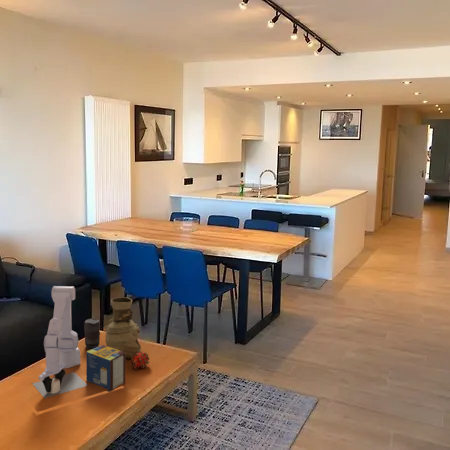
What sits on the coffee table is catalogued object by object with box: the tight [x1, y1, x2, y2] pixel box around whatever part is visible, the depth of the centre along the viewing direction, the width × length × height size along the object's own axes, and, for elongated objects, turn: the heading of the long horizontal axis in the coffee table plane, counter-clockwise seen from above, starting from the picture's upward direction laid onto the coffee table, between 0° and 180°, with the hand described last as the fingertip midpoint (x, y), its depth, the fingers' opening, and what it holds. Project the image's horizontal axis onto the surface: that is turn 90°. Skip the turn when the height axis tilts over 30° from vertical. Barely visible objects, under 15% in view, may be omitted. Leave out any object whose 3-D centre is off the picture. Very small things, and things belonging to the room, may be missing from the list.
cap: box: [48, 379, 60, 394], centre depth 220 cm, size 5×5×5 cm
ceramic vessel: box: [105, 296, 142, 360], centre depth 262 cm, size 19×21×30 cm
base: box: [31, 371, 89, 399], centre depth 226 cm, size 20×16×4 cm
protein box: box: [85, 344, 126, 392], centre depth 230 cm, size 10×15×16 cm
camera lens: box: [83, 318, 101, 350], centre depth 269 cm, size 8×8×15 cm
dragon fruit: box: [130, 350, 150, 370], centre depth 248 cm, size 8×8×12 cm
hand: (53, 388), depth 220 cm, fingers closed on cap, 5 cm apart
